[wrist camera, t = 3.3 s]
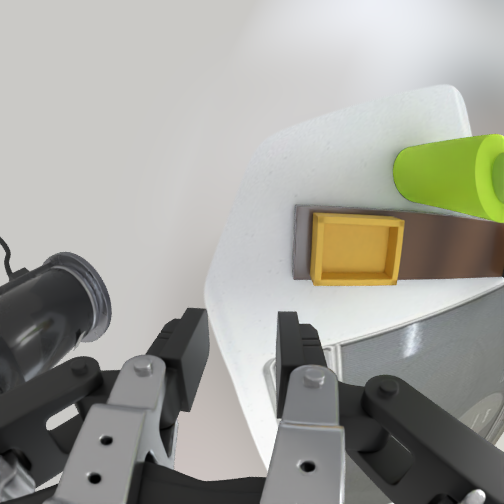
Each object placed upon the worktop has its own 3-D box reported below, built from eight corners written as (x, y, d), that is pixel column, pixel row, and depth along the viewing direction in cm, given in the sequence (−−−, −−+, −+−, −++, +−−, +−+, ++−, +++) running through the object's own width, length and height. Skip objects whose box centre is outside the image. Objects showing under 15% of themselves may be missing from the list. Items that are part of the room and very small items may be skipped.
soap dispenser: (449, 192, 25) (599, 225, 5) (401, 209, 26) (560, 264, 6) (436, 140, 24) (589, 125, 4) (385, 152, 25) (550, 132, 5)
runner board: (292, 275, 28) (293, 279, 27) (295, 205, 26) (296, 206, 25) (506, 273, 26) (511, 276, 25) (514, 223, 25) (520, 225, 24)
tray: (309, 276, 27) (313, 285, 24) (313, 212, 25) (317, 216, 22) (386, 276, 26) (396, 285, 24) (393, 216, 25) (404, 220, 22)
